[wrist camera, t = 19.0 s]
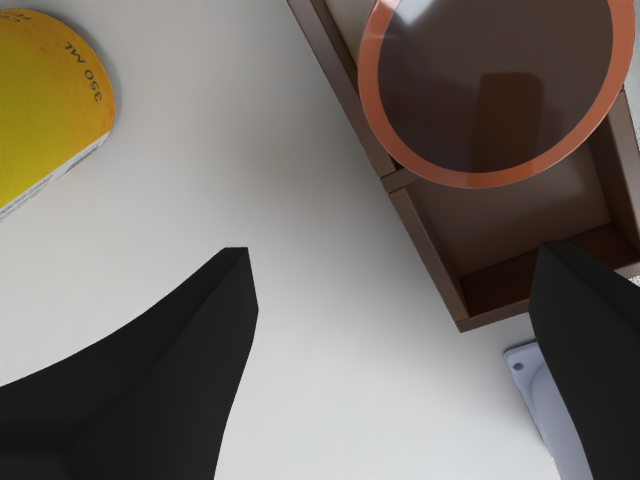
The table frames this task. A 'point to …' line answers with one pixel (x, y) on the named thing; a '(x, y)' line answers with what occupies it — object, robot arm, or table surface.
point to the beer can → (46, 104)
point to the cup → (490, 82)
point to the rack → (492, 194)
